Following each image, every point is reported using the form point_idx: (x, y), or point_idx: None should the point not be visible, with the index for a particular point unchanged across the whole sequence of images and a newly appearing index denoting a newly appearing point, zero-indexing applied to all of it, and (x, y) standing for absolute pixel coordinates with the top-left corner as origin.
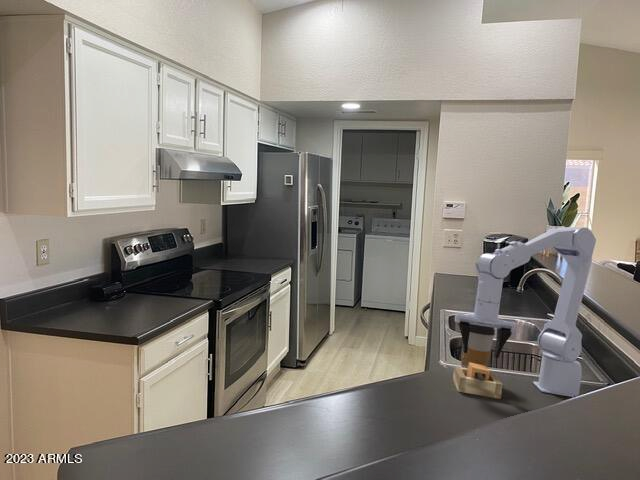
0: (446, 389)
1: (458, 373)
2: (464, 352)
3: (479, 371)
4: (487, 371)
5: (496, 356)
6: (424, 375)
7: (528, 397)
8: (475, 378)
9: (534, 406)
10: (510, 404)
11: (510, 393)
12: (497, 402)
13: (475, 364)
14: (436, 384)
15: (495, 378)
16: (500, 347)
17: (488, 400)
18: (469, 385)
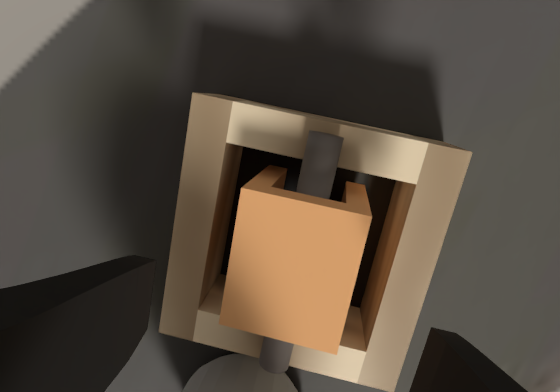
0: (508, 157)
1: (440, 241)
2: (457, 334)
3: (317, 199)
4: (260, 188)
5: (146, 262)
6: (542, 363)
7: (45, 173)
8: (351, 166)
9: (62, 35)
10: (193, 19)
11: (123, 207)
12: (262, 27)
13: (301, 316)
14: (536, 228)
15: (192, 216)
16: (62, 285)
17: (306, 44)
18: (394, 133)
